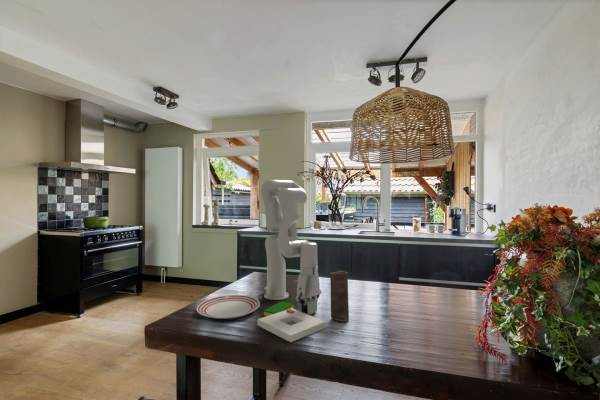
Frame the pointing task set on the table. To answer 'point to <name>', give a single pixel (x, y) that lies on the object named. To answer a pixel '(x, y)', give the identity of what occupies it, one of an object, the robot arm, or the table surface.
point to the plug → (311, 305)
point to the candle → (339, 296)
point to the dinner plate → (228, 306)
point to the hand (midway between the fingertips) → (309, 311)
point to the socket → (291, 324)
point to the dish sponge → (278, 308)
